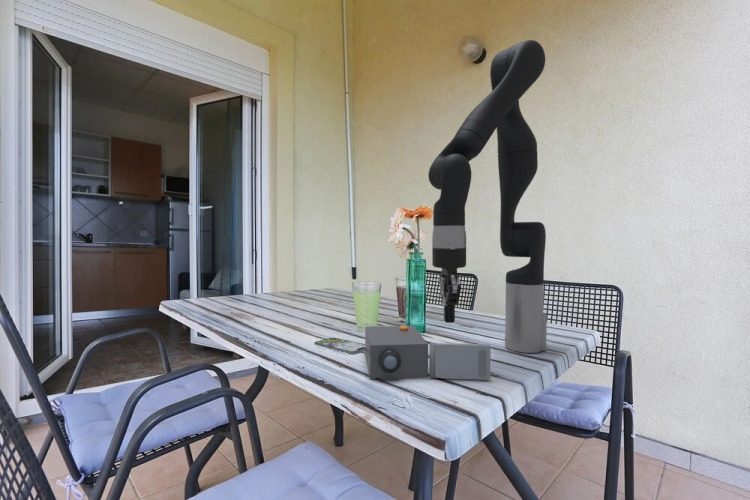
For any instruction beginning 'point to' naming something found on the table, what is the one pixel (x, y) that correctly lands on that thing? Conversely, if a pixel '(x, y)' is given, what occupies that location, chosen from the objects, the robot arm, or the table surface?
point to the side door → (459, 361)
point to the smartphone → (342, 345)
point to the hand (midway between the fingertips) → (449, 321)
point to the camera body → (395, 352)
